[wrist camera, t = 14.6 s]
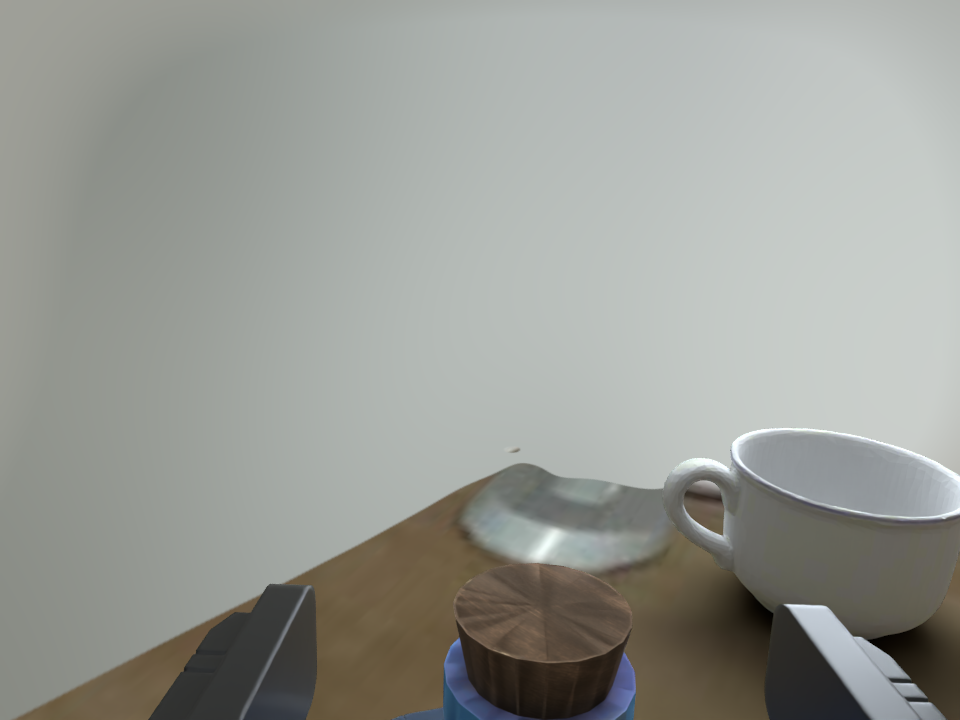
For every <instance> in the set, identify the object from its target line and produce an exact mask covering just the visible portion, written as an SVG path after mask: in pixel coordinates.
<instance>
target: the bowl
mask: <svg viewBox="0 0 960 720" xmlns="http://www.w3.org/2000/svg"><path fill="white" fill-rule="evenodd" d="M392 720H444V711H443V708H438V709H432V710H427V711H421V712H416V713H410V714H405V715H404V716H399V717H397V718H394V719H392Z"/></svg>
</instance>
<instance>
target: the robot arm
mask: <svg viewBox="0 0 960 720" xmlns="http://www.w3.org/2000/svg"><path fill="white" fill-rule="evenodd" d="M316 675H317V644H316V601H315V591H314V588H313V586H311V585H286V584H269V585H268V586H267V587H266V589H265V591H264V592H263V594H262V595H261V597H260V599H259V600H258V602H257V604H256V605H255V607H254V608H253V610H252V612H251V613H239V612H235V613H233V614H232V615H230V616H229V617H227V618H226V619H225V620H223V621H222V622H220V623H219V624H218V625H216V626H215V627H213V628H212V629H211V630H210V631H209V632H208V634H207V635H206V637H205V638H204V640H203V641H202V643H201V644H200V646H199V647H198V648H197V650H196V654H193V656H192V657H191V659H190V660H189V661H188V663H187V664H186V666H185V667H184V672H181V673H180V675H179V676H178V677H177V679H176V680H175V682H174V683H173V685H172V686H171V688H170V689H169V690H168V692H167V693H166V695H165V696H164V698H163V699H162V701H161V702H160V704H159V705H158V706H157V708H156V709H155V711H154V712H153V714H152V715H151V717H150V718H149V719H148V720H305V719H306V717H307V714H308V711H309V709H310V706H311V703H312V699H313V695H314V690H315V684H316ZM765 702H766V708H767V712H768V715H769V719H770V720H947V719H946V718H945V717H944V716H943V714H942V713H941V712H940V711H939V710H938V709H937V708H936V707H935V705H934V704H933V703H929V702H928V698H927V696H926V695H925V694H924V693H923V692H922V691H921V690H920V689H919V688H918V686H917V685H916V684H912V683H911V679H910V677H909V676H908V675H907V674H906V673H905V672H904V671H903V670H902V668H901V667H900V666H899V665H898V664H897V663H896V662H895V661H894V660H893V658H892V657H891V656H889V655H888V654H886V653H885V652H883V651H882V650H880V649H879V648H877V647H876V646H874V645H873V644H871V643H870V642H868V641H867V640H865V639H863V638H862V637H853V636H852V635H851V634H850V633H849V631H848V630H847V629H846V628H845V627H844V625H843V624H842V623H841V622H840V621H839V620H838V618H837V617H836V616H835V615H834V614H833V612H832V611H831V610H830V609H829V608H828V607H826V606H823V605H798V604H779V605H778V606H777V607H776V609H775V611H774V615H773V621H772V629H771V637H770V645H769V653H768V661H767V669H766V677H765Z"/></svg>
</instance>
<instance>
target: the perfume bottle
mask: <svg viewBox="0 0 960 720" xmlns="http://www.w3.org/2000/svg"><path fill="white" fill-rule="evenodd" d="M453 605H454V612H455V618H456V623H457V627H458V632H459V638H458V639H457V640H456V641H455V642H454V643H453V644H452V645H451V647H450V650H449V652H448V655H447V657H446V660H445V663H444V695H443V711H444V720H633V718H634V706H635V694H636V687H635V671H634V670H633V668H632V666H631V664H630V662H629V660H628V658H627V656H626V655H625V653H624V650H625V647H626V644H627V641H628V638H629V635H630V632H631V629H632V610H631V609H630V607H629V605H628V604H627V602H626V600H625V599H624V597H623V596H622V595H621V594H620V593H619V592H618V591H616V590H615V589H614V588H613V587H611V586H610V585H609V584H608V583H606V582H604V581H602V580H600V579H598V578H596V577H594V576H592V575H590V574H588V573H585V572H582V571H578V570H575V569H571V568H568V567H564V566H557V565H549V564H540V563H531V564H512V565H507V566H502V567H498V568H493V569H490V570H487V571H485V572H483V573H481V574H479V575H476V576H474V577H472V578H471V579H470V580H469V581H468V582H466V583H465V584H464V585H463V586H462V587H461V588H460V589H459V591H458V593H457V595H456V598H455V600H454V602H453Z"/></svg>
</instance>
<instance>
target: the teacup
mask: <svg viewBox="0 0 960 720" xmlns="http://www.w3.org/2000/svg"><path fill="white" fill-rule="evenodd" d="M730 451H731V460H732V464H731V470H729V469H728V468H727V467H726V466H724V465H723V464H721V463H719V462H717V461H714V460H711V459H706V458H705V459H704V458H700V459H690V460H688V461H685V462H683V463H681V464H679V465H678V466H677V467H676V468H674V469H673V471H672V472H671V473H670V474H669V476H668V478H667V480H666V482H665V485H664V488H663V505H664V508H665V511H666V513H667V515H668V517H669V519H670V520H671V522H672V523H673V525H674V526H675V527H676V528H677V530H678V531H679V532H680V533H681V534H683V535H684V536H685V537H686V538H687V539H689V540H690V541H691V542H693V543H694V544H695V545H697V546H699V547H700V548H702V549H704V550H705V551H707V552H709V553H710V554H712V556H713V559H714V561H715V562H716V564H717V565H718V566H719V567H720V568H721V569H724V570H728V571H733V572H734V573H735V575H736V576H737V578H738V579H739V581H740V582H741V583H742V584H743V585H744V586H745V587H746V588H747V589H748V590H749V591H750V592H751V593H752V594H753V595H754V596H755V598H756V599H757V600H758V601H759V602H760V603H761V604H762V605H763V606H764V607H765V608H767V609H768V610H769V611H771V612H772V613H773V614H774V611H775V609H776V607H777V606H778V605H779V604H798V605H823V606H826V607H828V608H829V609H830V610H831V611H832V612H833V614H834V615H835V616H836V617H837V618H838V620H839V621H840V622H841V623H842V624H843V625H844V627H845V628H846V629H847V630H848V631H849V633H850V634H851V635H852V636H853V637H862V638H863V639H865V640H868V639H875V638H879V637H882V636H885V635H891V634H897V633H901V632H905V631H908V630H910V629H913V628H915V627H917V626H919V625H920V624H922V623H924V622H925V621H927V620H928V619H929V618H930V617H931V616H932V615H933V614H934V613H935V612H936V611H937V610H938V608H939V606H940V605H941V603H942V602H943V600H944V598H945V595H946V593H947V590H948V588H949V584H950V581H951V578H952V575H953V572H954V569H955V565H956V561H957V558H958V554H959V550H960V476H959V475H958V474H957V473H954V472H952V471H951V470H949V469H947V468H945V467H944V466H942V465H940V464H939V463H937V462H935V461H933V460H931V459H928V458H926V457H924V456H921V455H919V454H916V453H914V452H911V451H908V450H905V449H902V448H899V447H897V446H893V445H890V444H886V443H882V442H879V441H875V440H872V439H867V438H863V437H859V436H854V435H849V434H844V433H836V432H830V431H825V430H814V429H802V428H777V429H764V430H758V431H754V432H751V433H747V434H744V435H742V436H740V437H739V438H738V439H736V440H735V441H734V443H733V444H732V447H731V450H730ZM700 480H707V481H711V482H713V483H715V484H716V485H717V486H718V487H719V488H720V491H721V494H722V501H723V504H724V506H725V512H724V525H723V535H719V534H716V533H714V532H712V531H710V530H708V529H706V528H704V527H703V526H701V525H700V524H698V523H697V522H695V521H694V520H693V519H692V518H691V517H690V516H689V515H688V514H687V512H686V511H685V508H684V506H683V498H684V494H685V492H686V491H687V489H688V488H689V487H690V486H691V485H692V484H693V483H694V482H697V481H700Z"/></svg>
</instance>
